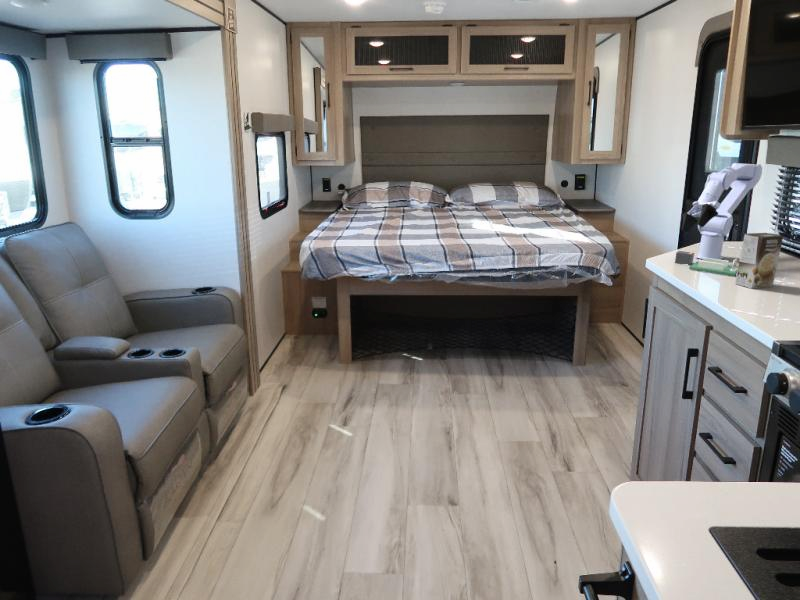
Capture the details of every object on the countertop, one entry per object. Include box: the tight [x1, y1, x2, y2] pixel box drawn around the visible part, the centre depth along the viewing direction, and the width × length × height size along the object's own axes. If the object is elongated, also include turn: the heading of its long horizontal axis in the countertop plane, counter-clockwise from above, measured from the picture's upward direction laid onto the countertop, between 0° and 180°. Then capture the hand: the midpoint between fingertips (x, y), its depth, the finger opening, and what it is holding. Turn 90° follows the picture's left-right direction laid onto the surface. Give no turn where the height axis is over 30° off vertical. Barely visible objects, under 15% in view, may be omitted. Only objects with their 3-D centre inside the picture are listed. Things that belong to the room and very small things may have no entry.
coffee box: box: [734, 232, 784, 289], centre depth 189 cm, size 9×6×16 cm
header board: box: [688, 257, 738, 277], centre depth 209 cm, size 12×14×4 cm
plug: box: [674, 250, 695, 266], centre depth 218 cm, size 4×5×4 cm
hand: (691, 228), depth 210 cm, fingers open, 7 cm apart
